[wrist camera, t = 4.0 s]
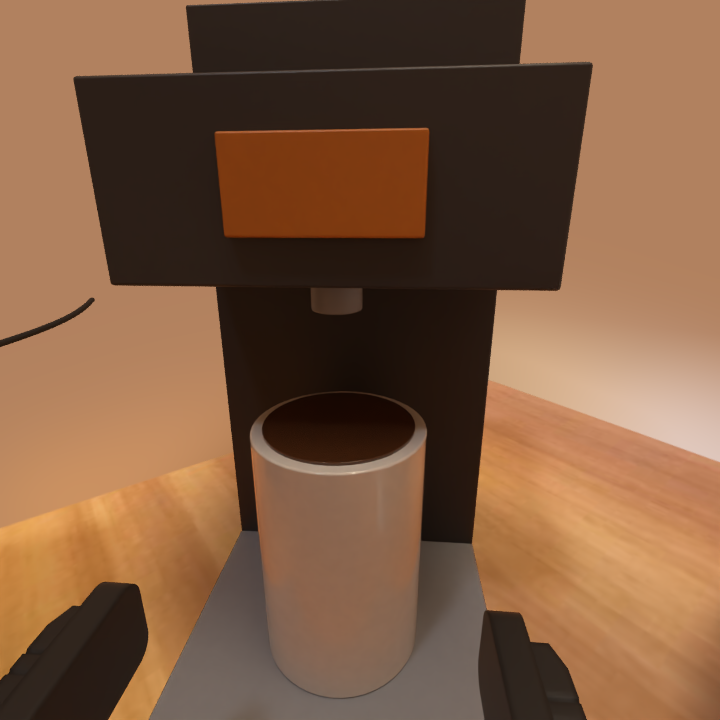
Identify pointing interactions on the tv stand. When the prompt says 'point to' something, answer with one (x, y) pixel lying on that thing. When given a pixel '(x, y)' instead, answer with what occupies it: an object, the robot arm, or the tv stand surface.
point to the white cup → (340, 537)
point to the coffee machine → (344, 271)
